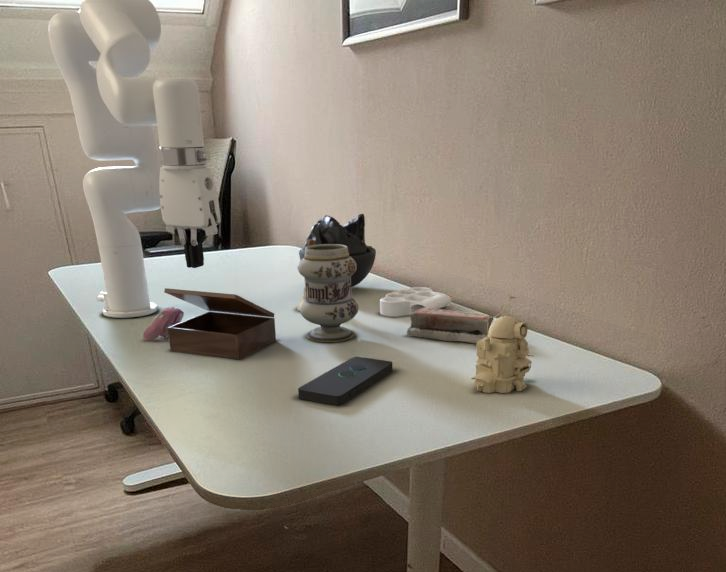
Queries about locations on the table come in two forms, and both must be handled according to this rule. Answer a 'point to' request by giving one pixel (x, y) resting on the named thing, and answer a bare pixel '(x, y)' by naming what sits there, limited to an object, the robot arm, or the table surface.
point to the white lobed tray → (412, 301)
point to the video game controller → (163, 323)
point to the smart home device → (345, 380)
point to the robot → (503, 356)
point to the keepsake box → (222, 334)
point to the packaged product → (449, 325)
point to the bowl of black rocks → (345, 242)
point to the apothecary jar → (328, 291)
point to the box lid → (220, 302)
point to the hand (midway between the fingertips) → (195, 266)
